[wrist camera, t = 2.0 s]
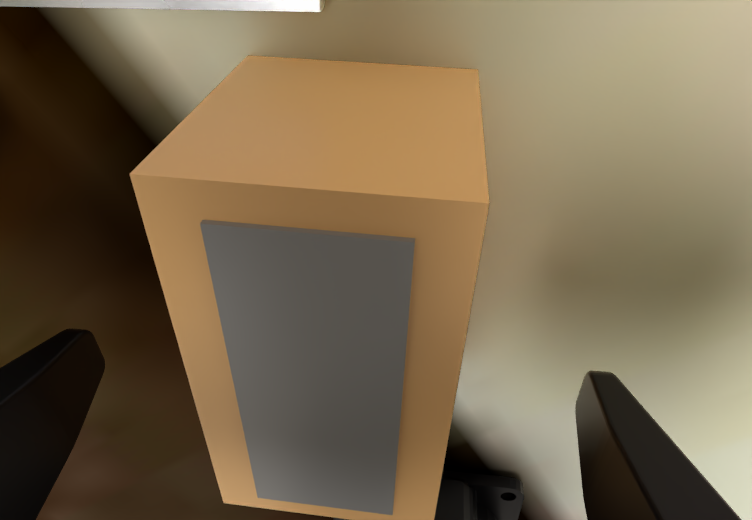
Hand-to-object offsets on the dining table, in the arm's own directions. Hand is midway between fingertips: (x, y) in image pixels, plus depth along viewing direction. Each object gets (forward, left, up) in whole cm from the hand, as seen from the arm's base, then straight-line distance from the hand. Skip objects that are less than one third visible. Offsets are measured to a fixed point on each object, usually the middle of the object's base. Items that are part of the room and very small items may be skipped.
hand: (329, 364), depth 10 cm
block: (0, 0, -4) cm, 4 cm away
